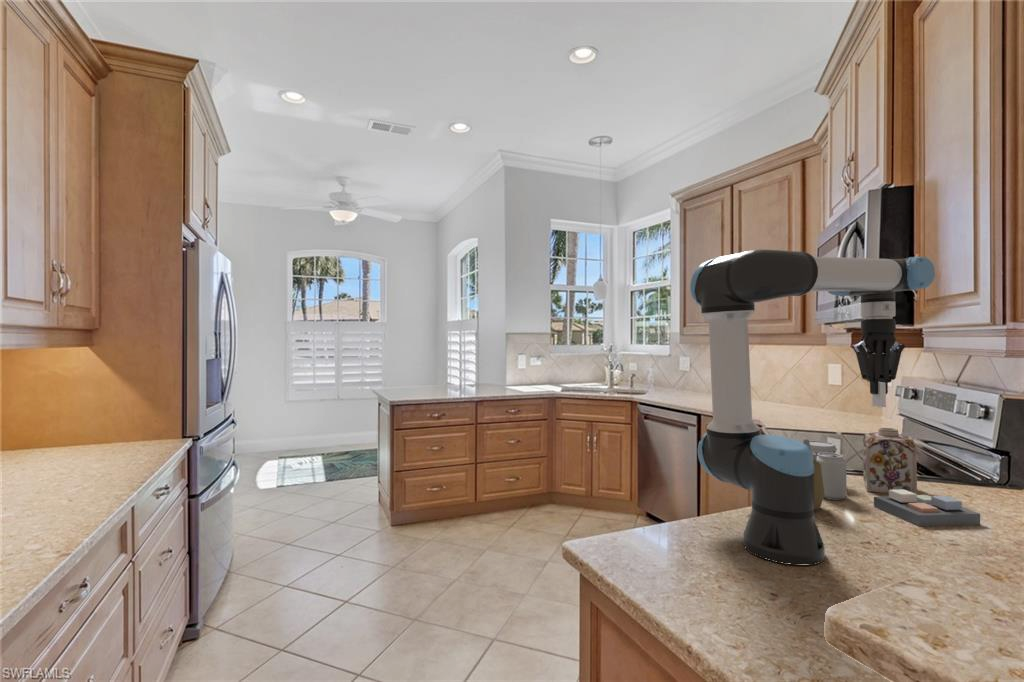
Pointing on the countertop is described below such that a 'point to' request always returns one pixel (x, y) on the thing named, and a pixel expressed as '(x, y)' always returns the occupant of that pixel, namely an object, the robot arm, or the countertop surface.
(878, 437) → the decorative jar
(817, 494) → the squeeze bottle
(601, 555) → the countertop surface
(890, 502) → the keypad
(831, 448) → the disposable coffee cup
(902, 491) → the cream key
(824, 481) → the can
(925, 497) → the sage key
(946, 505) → the slate key
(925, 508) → the terracotta key
